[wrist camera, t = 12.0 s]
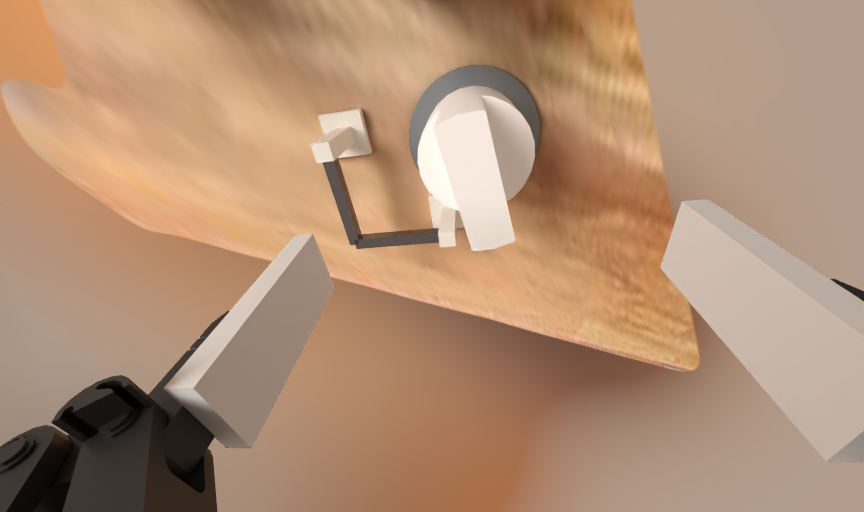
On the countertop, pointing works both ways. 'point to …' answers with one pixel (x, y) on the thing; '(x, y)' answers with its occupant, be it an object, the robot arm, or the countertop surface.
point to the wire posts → (351, 139)
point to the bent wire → (352, 224)
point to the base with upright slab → (477, 161)
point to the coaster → (466, 78)
